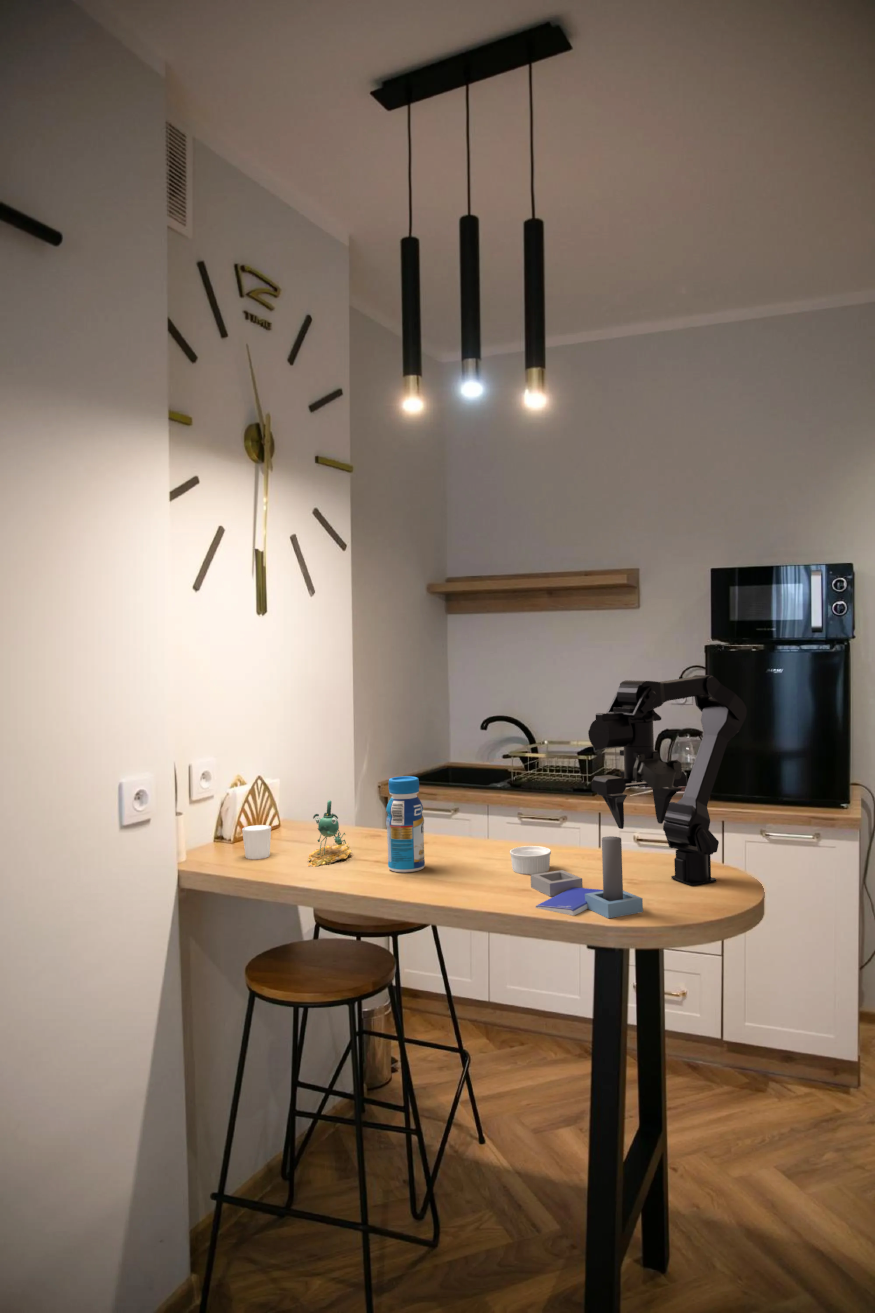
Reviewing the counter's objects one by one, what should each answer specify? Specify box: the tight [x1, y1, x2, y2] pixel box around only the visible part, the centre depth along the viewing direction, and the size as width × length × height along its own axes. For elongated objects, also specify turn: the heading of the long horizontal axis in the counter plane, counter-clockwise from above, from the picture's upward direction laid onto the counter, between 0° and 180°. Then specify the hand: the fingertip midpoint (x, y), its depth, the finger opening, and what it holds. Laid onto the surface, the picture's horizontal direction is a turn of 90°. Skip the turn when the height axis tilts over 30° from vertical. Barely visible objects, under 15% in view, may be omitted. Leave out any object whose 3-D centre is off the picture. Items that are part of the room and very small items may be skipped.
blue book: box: [535, 887, 603, 917], centre depth 162 cm, size 2×8×12 cm
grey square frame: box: [530, 869, 584, 897], centre depth 172 cm, size 7×7×2 cm
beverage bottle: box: [385, 775, 426, 873], centre depth 191 cm, size 8×8×20 cm
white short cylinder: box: [241, 824, 272, 860], centre depth 207 cm, size 7×7×7 cm
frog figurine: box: [307, 799, 352, 868], centre depth 203 cm, size 10×18×15 cm, turn 155°
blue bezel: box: [585, 889, 644, 919], centre depth 157 cm, size 7×7×2 cm
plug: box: [601, 836, 624, 901], centre depth 157 cm, size 4×4×13 cm
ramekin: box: [509, 845, 552, 876], centre depth 187 cm, size 9×9×4 cm
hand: (640, 826), depth 167 cm, fingers open, 9 cm apart
